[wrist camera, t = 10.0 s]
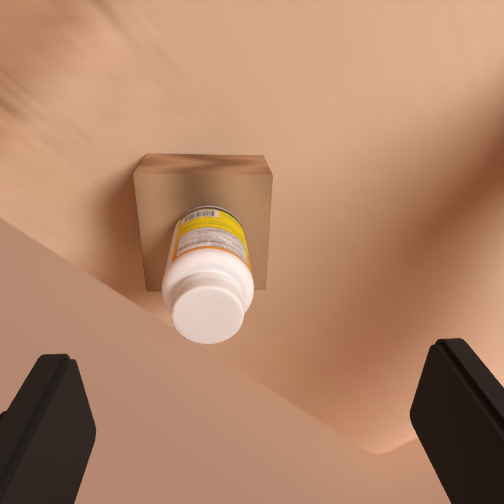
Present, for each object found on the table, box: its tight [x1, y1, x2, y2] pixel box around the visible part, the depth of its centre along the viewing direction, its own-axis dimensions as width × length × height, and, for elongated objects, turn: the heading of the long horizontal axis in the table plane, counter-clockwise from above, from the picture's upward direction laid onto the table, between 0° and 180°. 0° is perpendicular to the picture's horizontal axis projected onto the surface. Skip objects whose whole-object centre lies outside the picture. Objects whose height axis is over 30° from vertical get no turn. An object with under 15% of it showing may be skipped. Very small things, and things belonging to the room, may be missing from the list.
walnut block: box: [133, 154, 273, 291], centre depth 32 cm, size 10×10×6 cm
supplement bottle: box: [162, 206, 254, 344], centre depth 25 cm, size 6×6×10 cm
